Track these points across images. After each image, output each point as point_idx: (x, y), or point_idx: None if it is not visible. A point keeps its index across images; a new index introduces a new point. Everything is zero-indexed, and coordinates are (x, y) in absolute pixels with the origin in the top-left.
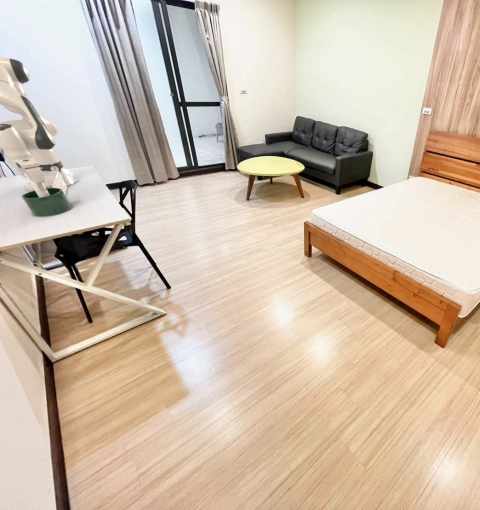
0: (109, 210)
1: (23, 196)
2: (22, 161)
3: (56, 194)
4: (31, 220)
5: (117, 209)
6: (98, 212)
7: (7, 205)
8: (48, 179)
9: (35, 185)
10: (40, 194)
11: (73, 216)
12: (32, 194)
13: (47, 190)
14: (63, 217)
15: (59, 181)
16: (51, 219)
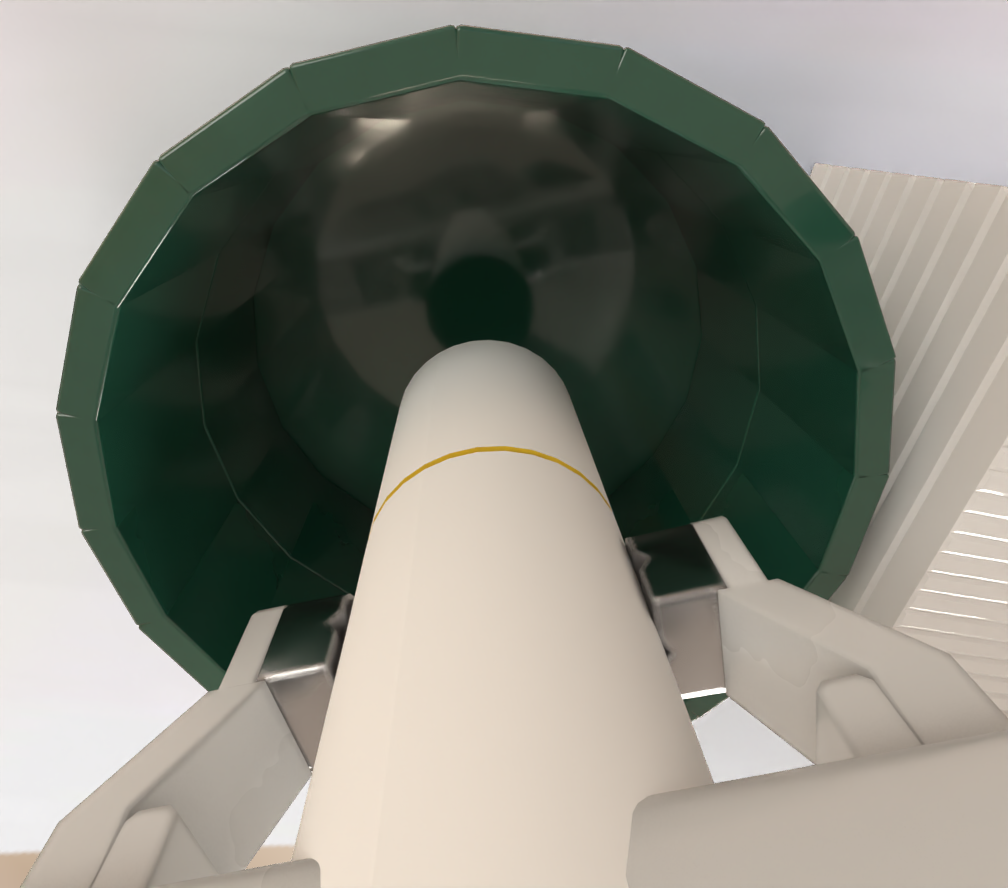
0: (44, 794)
1: (493, 80)
2: None
3: (210, 683)
4: (174, 5)
5: (35, 842)
6: (34, 718)
7: None
8: None
9: (341, 661)
10: (388, 460)
11: (29, 512)
12: (796, 277)
13: (786, 557)
14: (55, 415)
15: None
16: (50, 277)
